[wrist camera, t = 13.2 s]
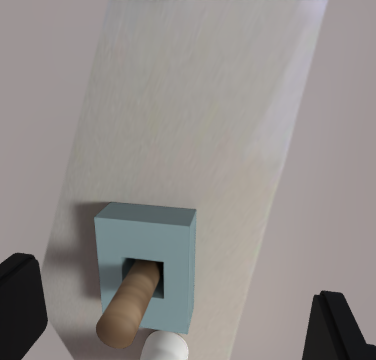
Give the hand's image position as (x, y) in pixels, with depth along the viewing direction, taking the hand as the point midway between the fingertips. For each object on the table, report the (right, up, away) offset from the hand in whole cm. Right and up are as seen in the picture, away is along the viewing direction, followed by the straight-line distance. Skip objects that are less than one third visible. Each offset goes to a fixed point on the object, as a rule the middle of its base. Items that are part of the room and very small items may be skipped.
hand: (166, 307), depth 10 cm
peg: (-4, -7, +33) cm, 34 cm away
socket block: (-4, -7, +33) cm, 34 cm away
